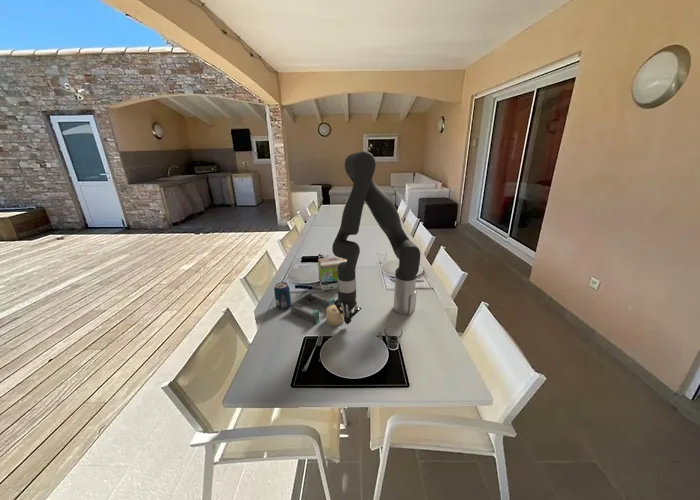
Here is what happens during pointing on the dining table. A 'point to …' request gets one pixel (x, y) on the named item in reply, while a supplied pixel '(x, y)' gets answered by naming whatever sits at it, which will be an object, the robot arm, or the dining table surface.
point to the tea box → (329, 272)
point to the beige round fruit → (334, 316)
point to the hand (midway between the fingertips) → (347, 322)
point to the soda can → (282, 296)
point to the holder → (303, 301)
